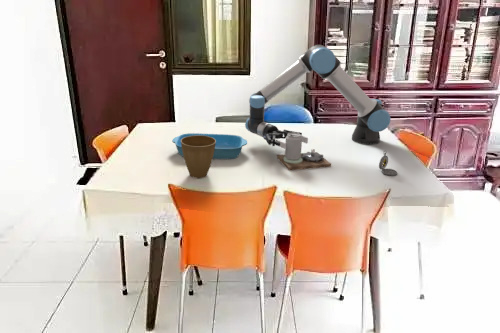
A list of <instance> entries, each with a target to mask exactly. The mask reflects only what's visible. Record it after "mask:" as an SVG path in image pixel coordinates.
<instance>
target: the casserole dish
mask: <svg viewBox="0 0 500 333" xmlns="http://www.w3.org/2000/svg"><path fill="white" fill-rule="evenodd" d="M194 135H203V136H209V137H212V138H214V139H215V140H216V144H215V150H214V155H213V159H212V160H234V159H236V158H238V157H239V156H240V154H241V152H242V149H243V147H244V146H246V145H248V140H247V139H245V138H244V137H242V136H240V135H236V134H227V133H226V134H225V133H223V134H221V133H219V134H218V133H199V132H198V133H195V132H192V133H191V132H190V133H182V134H180V135H178V136H175V137H174V138H172V143H174V144H175V148H176V150H177V153H178V154H179V155H180V156H181V157H183V158H184V156H183V151H182V146H181V139H182V138H184V137H187V136H194Z"/></svg>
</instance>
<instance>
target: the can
mask: <svg viewBox="0 0 500 333" xmlns="http://www.w3.org/2000/svg"><path fill="white" fill-rule="evenodd" d="M294 132H295V131H294ZM294 132H292V133H288V134H287V136H286V138H285V143H286V149H284V155H285V157H286V158H287V159H288V160H298V159H299V158H301V153H302V147H303V146H302V143H303V142H302V137H301V134H299V133H294Z"/></svg>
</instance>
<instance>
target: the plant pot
mask: <svg viewBox="0 0 500 333" xmlns="http://www.w3.org/2000/svg"><path fill="white" fill-rule="evenodd" d="M215 144H216V140H215V139H214V138H212V137H209V136H203V135H194V136H187V137H184V138H182V139H181V146H182V151H183V156H184V157H183V156H182V157H183V159H184V162H185V165H186V168H187V171H188V173H189V175H190V176H191V177H192V178H195V179H202V178H206V177H207V176H208V173H209V170H210V168H211V164H212V162H213V160H214V159H213V155H214V150H215Z"/></svg>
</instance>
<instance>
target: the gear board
mask: <svg viewBox="0 0 500 333" xmlns="http://www.w3.org/2000/svg"><path fill="white" fill-rule="evenodd" d="M316 152H317V153H318V151H316ZM302 153H303V152H301V157H302ZM318 154H320V153H318ZM276 156H277V158H276V159H278V161H279V162H280V163H281V164H282V165H283V167H285V169H287V170H288V171H297V170H298V171H299V170H310V169H319V168H320V169H321V168H331V167H332V163H331V162H330V161H329V160H328V159H326V158H325V157H324V158H323V161H319V162H318V163H315V162H307V161H305V160H302V162H301V163H299V164H290V163H286V162H284V160H283V158H284V156H285V154H278V155H276Z"/></svg>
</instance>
